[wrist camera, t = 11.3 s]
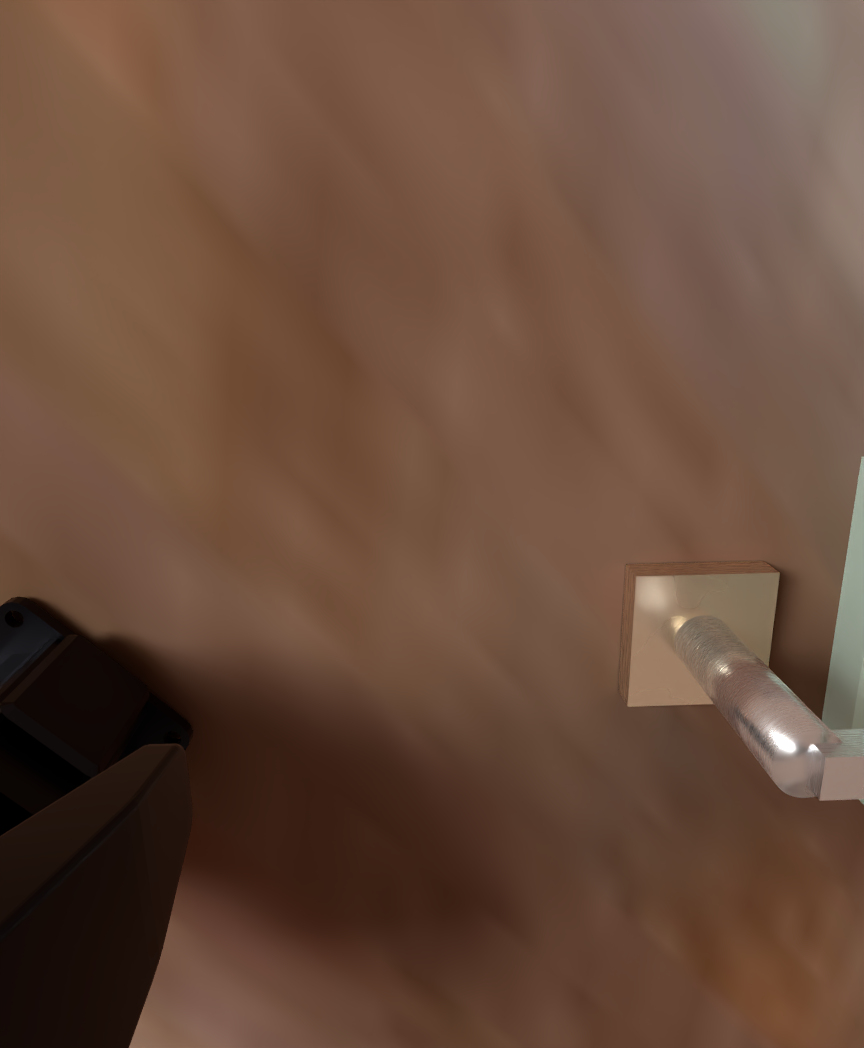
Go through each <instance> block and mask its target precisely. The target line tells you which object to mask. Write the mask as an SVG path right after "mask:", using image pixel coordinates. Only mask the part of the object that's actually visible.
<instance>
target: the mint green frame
mask: <svg viewBox="0 0 864 1048" xmlns="http://www.w3.org/2000/svg"><path fill="white" fill-rule="evenodd" d="M821 721H822V722H823V723H824V724H825V725H826V726H827V727H828V728H829V729H830V730H837V729H864V456H862V459H861V465H860V472H859V478H858V485H857V491H856V498H855V504H854V511H853V517H852V524H851V531H850V537H849V544H848V550H847V557H846V563H845V570H844V576H843V583H842V589H841V596H840V603H839V609H838V616H837V622H836V629H835V635H834V642H833V648H832V655H831V662H830V668H829V675H828V681H827V688H826V694H825V701H824V707H823V714H822V720H821ZM859 800H860V802H861V803H862V804H863V805H864V799H859Z"/></svg>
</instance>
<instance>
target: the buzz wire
mask: <svg viewBox="0 0 864 1048" xmlns="http://www.w3.org/2000/svg"><path fill="white" fill-rule="evenodd" d="M779 576H780V573H779V572H778V571H777V570H775V569H774V568H773V567H771V566H770V565H768V564H767V563H766V562H764V561H743V562H702V563H662V564H626V574H625V590H624V606H623V622H622V638H621V655H620V671H619V687H618V690H619V692H620V694H621V696H622V697H623V699H624V701H625V703H626V705H627V706H628V707H633V706H665V705H698V704H715V706H716V707H717V708H718V710H719V711H720V712H721V714H722V715H723V716H724V717H725V719H726V720H727V721H728V723H729V724H730V725H731V727H732V728H733V729H734V730H735V732H736V733H737V734H738V736H739V737H740V738H741V740H742V741H743V742H744V743H745V745H746V746H747V747H748V749H749V750H750V751H751V753H752V754H753V755H754V756H755V758H756V759H757V760H758V762H759V763H760V764H761V766H762V767H763V768H764V769H765V771H766V772H767V773H768V775H769V776H770V777H771V779H772V780H773V781H774V782H775V784H776V785H777V786H778V787H779V789H780V790H782V791H783V792H784V793H786V794H788V795H790V796H793V797H798V798H810V797H815V796H816V797H817V798H818V799H819V801H823V800H852V799H864V729H837V730H830V729H829V728H828V727H827V726H826V725H825V724H824V723H823V722H822V721H821V720H820V719H819V718H818V717H817V716H816V715H815V714H814V713H813V712H812V711H811V710H810V709H809V708H808V707H807V706H806V705H805V704H804V703H803V702H802V701H801V700H800V699H799V698H798V697H797V696H796V695H795V694H794V693H793V692H792V691H791V690H790V689H789V688H788V687H787V686H786V685H785V684H784V683H783V682H782V681H781V680H780V678H779V677H778V676H777V675H776V674H775V673H774V672H773V671H772V670H771V669H770V668H769V667H768V666H769V658H770V650H771V642H772V633H773V625H774V617H775V609H776V601H777V592H778V584H779Z"/></svg>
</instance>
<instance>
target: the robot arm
mask: <svg viewBox="0 0 864 1048" xmlns="http://www.w3.org/2000/svg"><path fill="white" fill-rule="evenodd" d="M12 611H17V612H19V613H21V615H22V616H23V619H24V622H20V621H18V620H15V618H14V617H13V616H12ZM169 731H174V732H176V733H178V734H179V735H180V736H181V738H180V739H173V738H171V737H170V736H169V735H168V732H169ZM192 736H193V729H192V726H191V725H190V723H189V722H188V721H187V720H186V719H184V718H183V717H182V716H180V715H179V714H178V713H176V712H175V711H174V710H173V709H171V708H170V707H169V706H167V705H166V704H165V703H163V702H162V701H161V700H160V699H158V698H157V697H156V696H154V695H153V694H152V693H150V692H149V691H148V688H147V686H146V685H145V684H143V683H142V682H141V681H139V680H138V679H137V678H136V677H134V676H133V675H132V674H130V673H129V672H128V671H126V670H125V669H124V668H123V667H121V666H120V665H119V664H117V663H116V662H115V661H114V660H112V659H111V658H110V657H108V656H107V655H106V654H104V653H103V652H102V651H101V650H99V649H98V648H97V647H95V646H94V645H93V644H91V643H90V642H89V641H88V640H86V639H85V638H84V637H82V636H81V635H75V634H74V633H72V632H71V631H70V630H69V629H67V628H66V627H65V626H63V625H62V624H61V623H59V622H58V621H57V620H56V619H54V618H53V617H52V616H50V615H49V614H48V613H46V612H45V611H44V610H43V609H41V608H40V607H39V606H37V605H36V604H35V603H34V602H32V601H30V600H29V599H27V598H23V597H15V598H11V599H10V600H8V601H7V602H5V603H4V604H3V605H2V606H0V1048H129V1046H130V1043H131V1040H132V1037H133V1035H134V1032H135V1029H136V1026H137V1023H138V1021H139V1018H140V1015H141V1012H142V1009H143V1006H144V1004H145V1001H146V998H147V995H148V992H149V990H150V987H151V984H152V981H153V978H154V975H155V972H156V969H157V966H158V963H159V960H160V956H161V952H162V949H163V945H164V941H165V937H166V933H167V928H168V924H169V920H170V916H171V911H172V907H173V903H174V899H175V894H176V890H177V886H178V882H179V877H180V873H181V869H182V865H183V860H184V856H185V852H186V848H187V843H188V839H189V835H190V830H191V825H192V800H191V792H190V783H189V775H188V766H187V758H186V753H185V749H186V748H187V746H188V745H189V743H190V741H191V739H192Z"/></svg>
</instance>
